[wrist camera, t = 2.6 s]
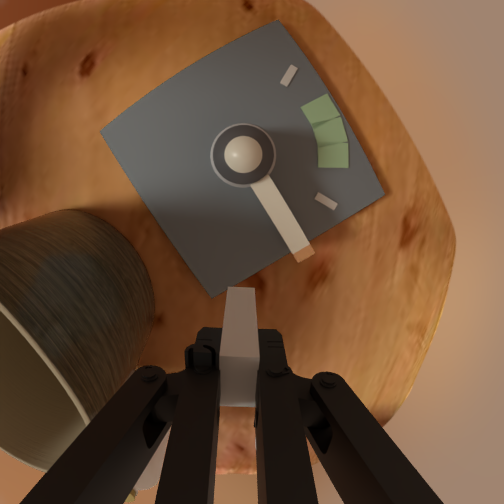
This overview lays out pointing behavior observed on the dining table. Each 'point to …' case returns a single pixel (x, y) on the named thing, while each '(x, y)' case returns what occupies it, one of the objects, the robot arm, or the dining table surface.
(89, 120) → the dining table surface
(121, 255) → the planter
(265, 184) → the peg lever
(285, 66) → the dial board
